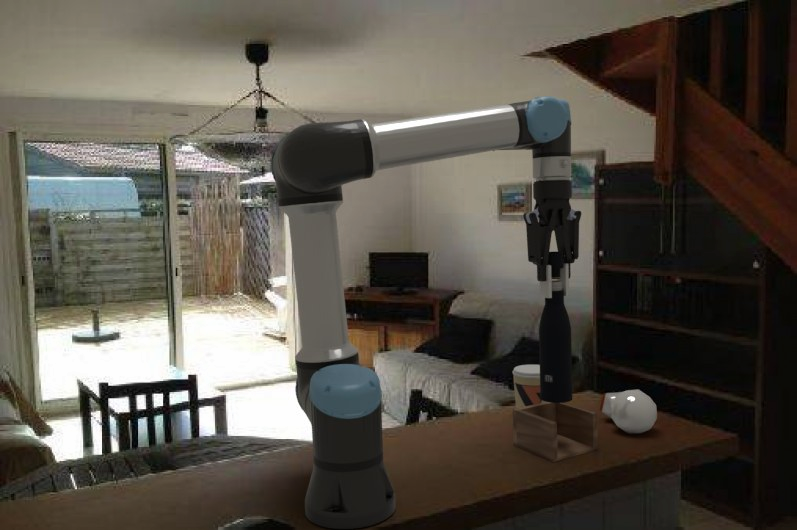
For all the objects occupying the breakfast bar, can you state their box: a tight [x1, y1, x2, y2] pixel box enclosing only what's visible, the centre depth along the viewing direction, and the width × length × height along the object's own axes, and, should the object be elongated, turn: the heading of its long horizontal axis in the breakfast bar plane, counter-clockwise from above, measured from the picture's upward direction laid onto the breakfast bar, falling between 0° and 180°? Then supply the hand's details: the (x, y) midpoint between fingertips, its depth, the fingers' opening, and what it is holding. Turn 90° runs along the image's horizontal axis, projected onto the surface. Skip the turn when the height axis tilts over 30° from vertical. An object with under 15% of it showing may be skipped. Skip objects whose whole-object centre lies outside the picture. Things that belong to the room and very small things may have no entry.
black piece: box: [538, 251, 573, 403], centre depth 139 cm, size 6×6×30 cm
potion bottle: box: [599, 389, 658, 435], centre depth 151 cm, size 9×10×15 cm
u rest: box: [512, 402, 599, 463], centre depth 141 cm, size 12×12×8 cm
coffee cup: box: [512, 364, 545, 409], centre depth 160 cm, size 9×9×12 cm
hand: (554, 296), depth 138 cm, fingers closed on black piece, 4 cm apart
